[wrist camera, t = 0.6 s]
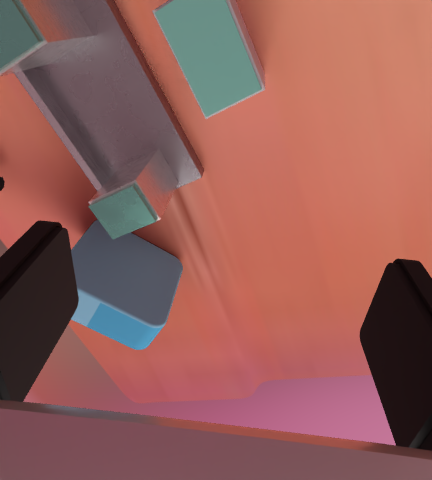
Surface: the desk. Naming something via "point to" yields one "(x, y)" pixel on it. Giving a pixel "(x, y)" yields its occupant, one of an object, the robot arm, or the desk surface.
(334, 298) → the desk surface
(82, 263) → the data package
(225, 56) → the block
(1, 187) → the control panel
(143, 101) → the rail
